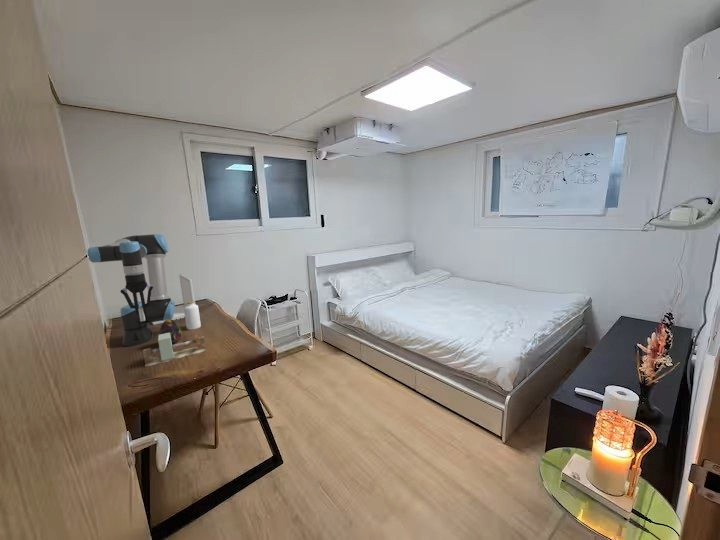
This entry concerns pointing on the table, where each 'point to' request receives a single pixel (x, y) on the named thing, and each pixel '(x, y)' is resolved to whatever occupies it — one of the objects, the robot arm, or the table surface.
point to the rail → (179, 354)
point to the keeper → (165, 346)
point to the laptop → (187, 297)
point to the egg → (171, 330)
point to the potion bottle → (192, 316)
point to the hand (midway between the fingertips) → (142, 320)
